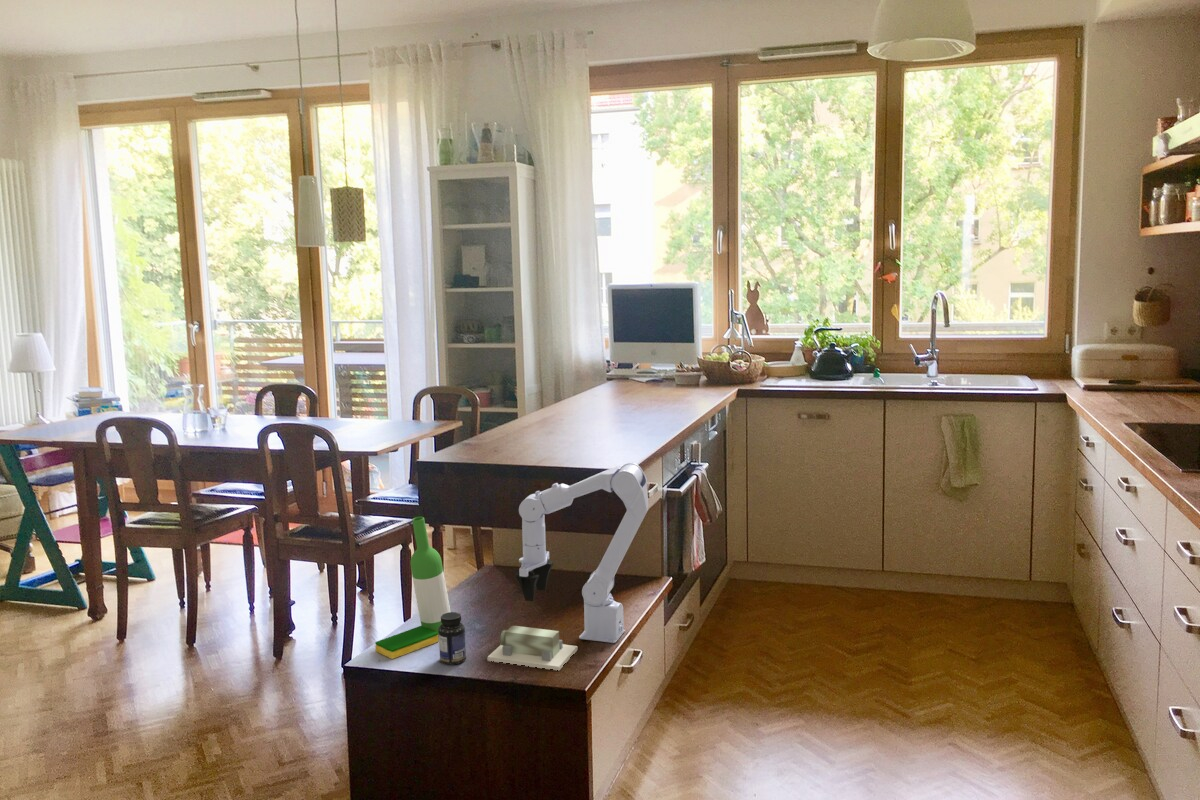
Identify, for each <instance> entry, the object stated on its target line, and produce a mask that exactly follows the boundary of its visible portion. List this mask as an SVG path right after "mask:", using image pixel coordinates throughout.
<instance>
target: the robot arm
mask: <svg viewBox="0 0 1200 800" xmlns="http://www.w3.org/2000/svg"><path fill="white" fill-rule="evenodd" d="M647 485H648V479H647V476H646V474H645V472H644V471H643V468H642V467H641V466H639V465H638V464H637V463H633V462H632V463H631V462H627V463H625V464H623V465H622V466H620V465H619V466H618V465H617V466H614V467H611V468H608V469H606V470H604V471H601V472H599V473H596V474H594V475H591V476H589V477H587V478H584V479H583V480H580V481H579V482H575V483H573V484H570V485H568V484H565V483H560V484H559V483H558V482H555V483H552V485H551V487H550V488H549V487H548V488H547V489H545V490H542V491H540V490H536V491H535V492H534V493H531V494H529V495H528V496H526V497H525V499H523V500H522V501H521V502H520V504H519V507H518V514H519V516H520V517H521V528H522V529H521V533H522V534H521V536H522V557H520V558H519V559H518V563H520V564H521V566H520V567H519V569H518V570H519V571H518V572H516V573H515V578H516V580H517V581H518V583H519V585H520V587H521V589H522V594H523V597H524V599H525V601H527V602H534V601H535V598H536V589H537V591H544V592H545V591H546V590H547V587H548V586H547V585H548V581H549V577H550V573H551V570H552V568H553V566H554V561H552V560H550V551H547V547H546V546H547V544H546V540H547V539H546V522H545V521H546V519H545V515H549V514H551V513H555V512H556V511H560V510H561V509H565V508H566V507H567V508H568V507H570V506H571V505H572V504H573V501H574V499H576V498H579V497H582V496H584V495H588V494H590V493H593V492H596V491H599V490H603V491H606V492H607V493H613V491H614V493H615V494H616V495H617V496H618V497H619V498H620V500H621V501H622V503H623V505H624V506H625V509H626V512H625V513H624V515H623V517H622V519H621V522H620V523H619V525H618V527H617V529H616V530H615V533H614V535H613V537H612V539H611V541H610V543H609V545H608V547H607V549H606V550H605V552H604V555H603V557H602V559H601V561H600V562H599V564H598V566H597V567H596V570H594V571H593V572H591V574H590V575H589V579H587V581H586V582H585V584H583V586H582V588H581V589H582V590H581V595H582V597H583V608H584V609H583V610H584V612H583V613H584V614H583V618H584V619H583V621H584V623H583V624H584V631H583V632H582V633H580V635H579V636H578V639H579V640H587V641H593V642H594V641H595V642H603V643H610V644H614V643H616V642H618V640H619V639H620V638H621V636H622V635H623V634H624V633H625V629H624V627H625V626H624V622H625V621H624V618H625V617H624V613H625V612H624V606H623V603H621V602H618V601H615V600H614V597H613V595H612V593H611V591H612V589H613V588H614V586H615V577H616V576H615V575H616V573H617V571H618V569H619V567H620V565H621V564H622V561H623V560H624V557H625V556H626V553H627V551H628V550H629V548H630V546H631V544H632V542H633V541H634V540H633V539H634V538H635V536H636V534H637V532H638V530H639V528H640V526H641V525H642V522H643V520H644V518H645V517H646V515H647V512H648V511H649V507H650V505H649V504H650V503H649V496H648V495H649V494H648V486H647ZM532 571H533V572H532Z"/></svg>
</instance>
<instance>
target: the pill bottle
mask: <svg viewBox="0 0 1200 800" xmlns="http://www.w3.org/2000/svg"><path fill="white" fill-rule="evenodd" d="M441 622H442V625H440V627H439V629H438V631H439V634H438V645H439V646H438V648H439V661H440V662H441V663H442V664H443V665H450V666H451V665H458V664H462V663H463V662H465V661H466V659H467V649H466V627H465V625H464V624H463V623H462V614H461V613H459V612H456V611H455V612H454V611H451V612H448V613H445V614H443V615H441Z"/></svg>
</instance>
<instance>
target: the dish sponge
mask: <svg viewBox="0 0 1200 800" xmlns="http://www.w3.org/2000/svg"><path fill="white" fill-rule="evenodd" d="M436 643H439V634H438V632H435V631H433V630H431V629H428V628H425V627H423V626H421V625H420V626H417V627H414V628H411V629H409V630H405V631H402V632H400V633H397V634H395V635H392V636H389V637H386V638H383V639H380V640H378V641H377V640H376V641H375V643H374V644H375V652H376V653H378V654H380V655H383V656H385V657H387V658H389V659H390V660H391V659H392V660H394V659H396V658H399V657H401V656H404V655H407V654H409V653H412V652H415V651H418V650H420V649H423V648H425V647H428V646H430V645H433V644H436Z"/></svg>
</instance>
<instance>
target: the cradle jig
mask: <svg viewBox="0 0 1200 800" xmlns="http://www.w3.org/2000/svg"><path fill="white" fill-rule="evenodd" d="M563 641H564V640H563V639H559V652H558V653H557V654H556V656H555V657H554V658H552V652H551V651H543V652H542V656H534V655H527V654H519V653H512V646H505V645H504V646H502V645H501V644H500V645H499V646H498V647H496V649H494V650H493V651H492V652H491V653H490V654H489V655H488V656H487V658H486V659H487V662H491V661H492V662H493V661H494V662H493V663H499V662H503V663H502V664H506V663H510V664H509V665H513V664H517V665H516V666H521V665H525V666H524V667H528V666H529V668H535V667H537V668H538V669H542V668H545V669H544V670H550V669H553V670H552V671H557V670H558V672H559V671H561V669H562V668H563V667H564V666H565V665H566V664H567V662H569V660H570V659H571V658H572V657H573V656H572V655H573V654H574V655H575V653H577V651H578V646H577V645H571V644H565V643H563ZM571 656H572V657H571ZM570 657H571V658H570ZM492 662H491V663H492ZM565 663H566V664H565ZM564 664H565V665H564ZM563 665H564V666H563Z"/></svg>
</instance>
